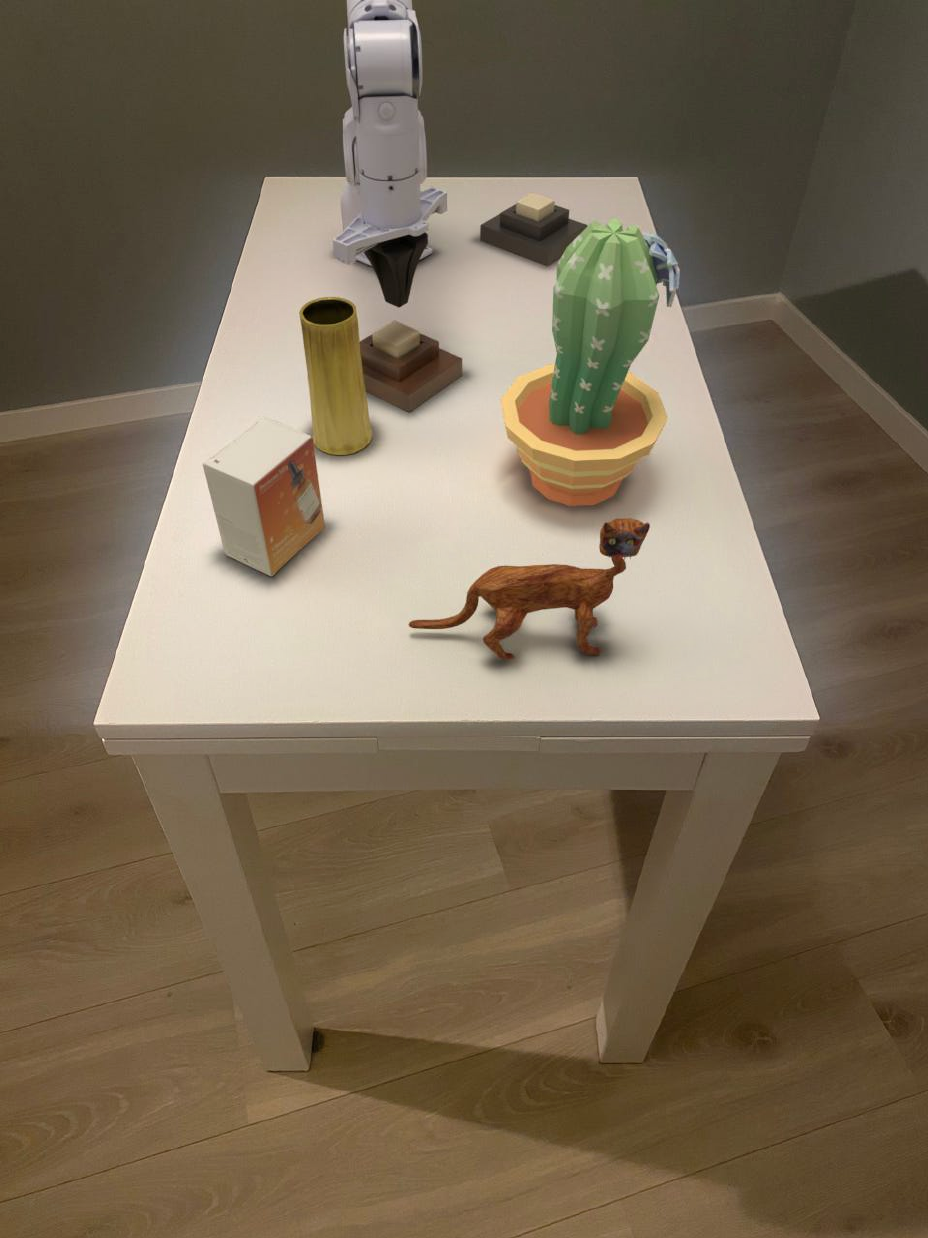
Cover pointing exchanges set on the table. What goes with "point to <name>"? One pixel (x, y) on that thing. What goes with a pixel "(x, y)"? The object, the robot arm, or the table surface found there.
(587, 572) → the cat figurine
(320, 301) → the vase
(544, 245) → the block
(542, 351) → the table surface
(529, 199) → the back key
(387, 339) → the front key
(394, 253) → the robot arm
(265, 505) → the small box
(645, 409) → the potted cactus
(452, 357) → the front block
